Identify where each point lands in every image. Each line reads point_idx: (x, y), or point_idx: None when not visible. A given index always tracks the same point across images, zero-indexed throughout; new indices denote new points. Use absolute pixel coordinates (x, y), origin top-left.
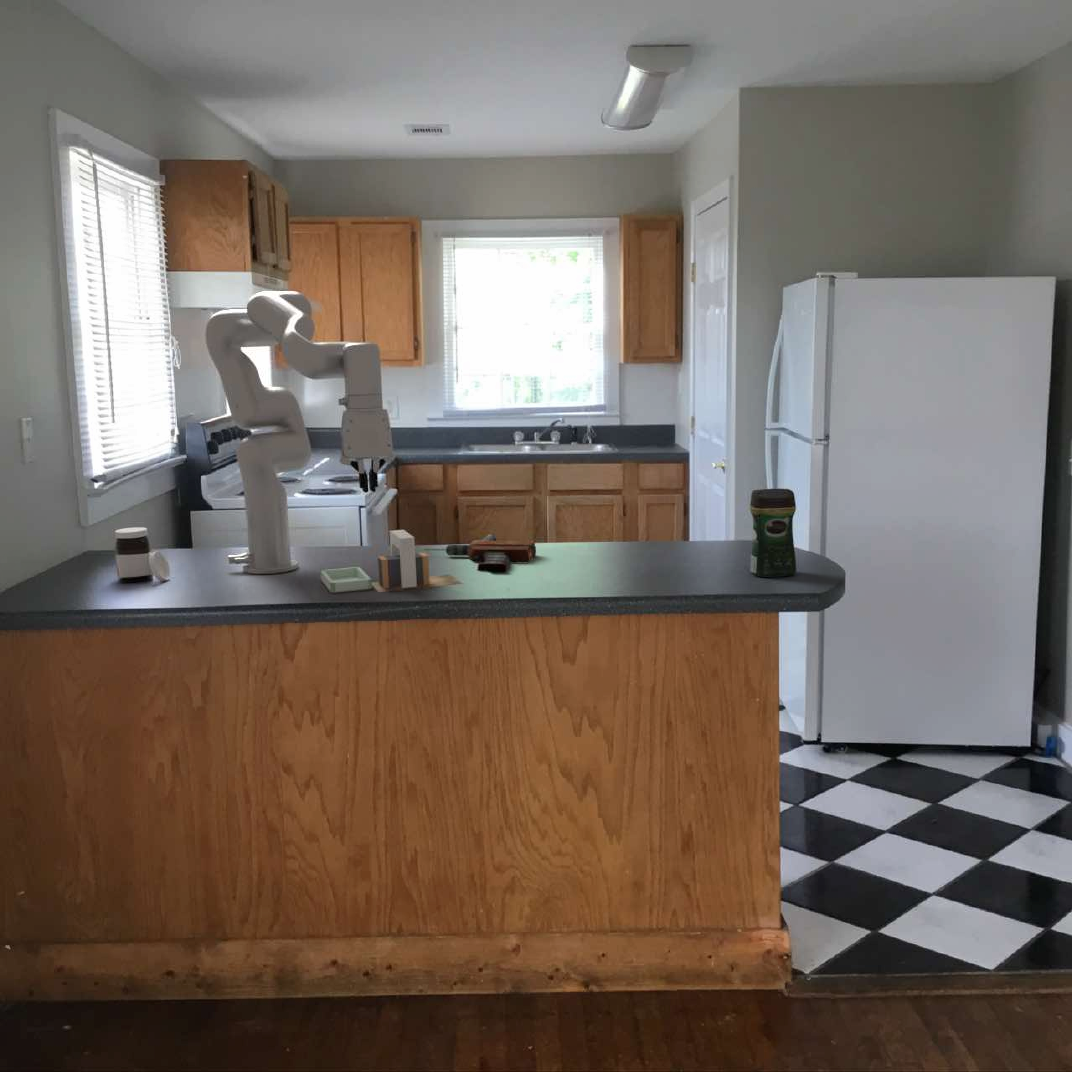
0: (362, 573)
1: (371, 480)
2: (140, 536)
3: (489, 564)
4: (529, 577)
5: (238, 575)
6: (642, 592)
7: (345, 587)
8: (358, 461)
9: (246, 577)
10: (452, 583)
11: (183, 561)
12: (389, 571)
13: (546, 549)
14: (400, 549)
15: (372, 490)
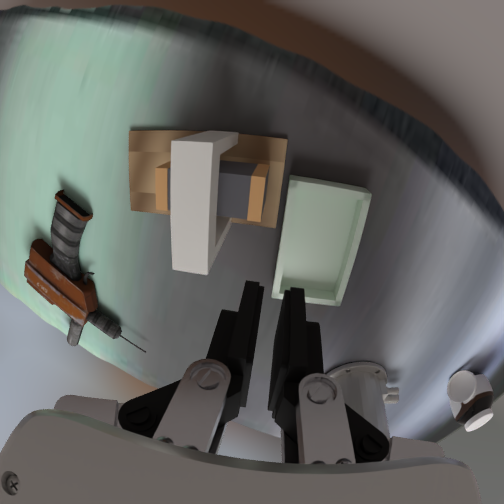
0: (286, 242)
1: (257, 329)
2: (481, 412)
3: (72, 211)
4: (46, 148)
5: (397, 371)
6: (3, 33)
7: (342, 185)
8: (347, 455)
9: (397, 359)
10: (142, 138)
11: (392, 427)
12: (251, 169)
13: (30, 289)
14: (220, 142)
15: (262, 287)
